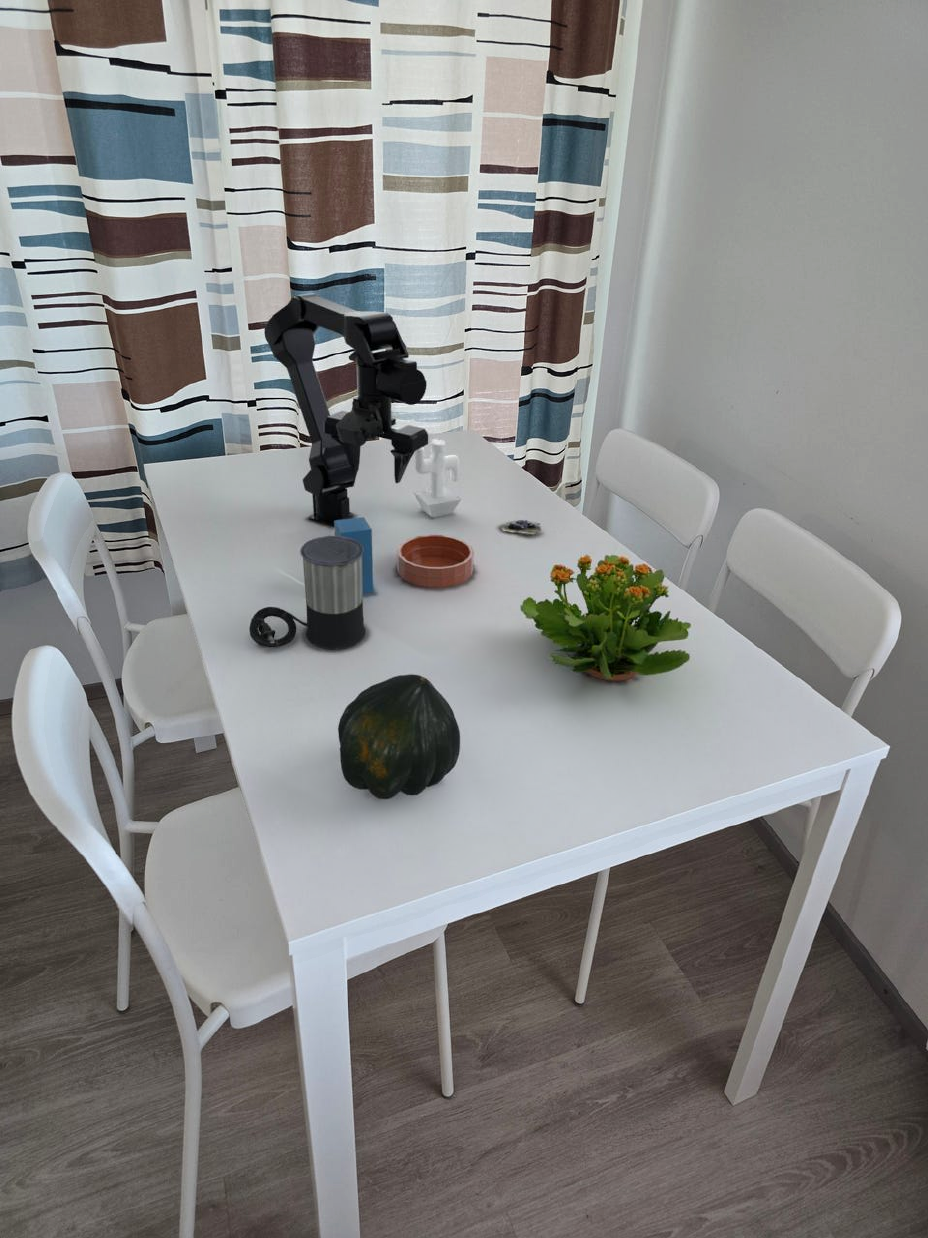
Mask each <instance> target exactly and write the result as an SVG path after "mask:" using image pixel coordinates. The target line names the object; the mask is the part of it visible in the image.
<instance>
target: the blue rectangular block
mask: <svg viewBox="0 0 928 1238" xmlns="http://www.w3.org/2000/svg"><path fill="white" fill-rule="evenodd" d="M334 524H335V526H334V536H342V537H346V538H351V539H353V540H355V541H357V542H359V543H360V544H361V545H362V547H363V548H364V552H363V554H362V586H363V595H368V594H369V595H370V594H374V570H373V569H374V567H373V566H374V565H373V530H372V527H371V526H370V524H369V523H368V521H367V519H366V518H365V517H364V516H362V517H353V518H352V517H351V518H348V519H343V520H335V521H334Z"/></svg>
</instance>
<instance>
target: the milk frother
mask: <svg viewBox="0 0 928 1238" xmlns="http://www.w3.org/2000/svg"><path fill="white" fill-rule="evenodd" d="M363 552H364V548H363V547H362V545H361V544H360V543H359V542H357V541H355V540H353V539H351V538H346V537H342V536H335V535H326V536H320V537H316V538H313V539H310V540H308V541H306V542H305V543H304V544H302V546H301V547H300V550H299V553H300V556H301V557H302V564H303V565H302V567H303V578H304V579H303V580H304V592H305V605H306V606H305V607H306V622H305V621H303V620H301V619H299V618H297V617H296V616H295V615H293V613H290V612H289V611H286V610H285V609H283V608H280V607H275V606H266V607H263V608H260V609H259V610H258V611H257V612H255V614H254V615H253V616H252V618H250V619H251V620H250V622H249V627H248V628H249V629H248V630H249V635H250V637H251V639H252V640H253V642H255V643H256V644H258V645H259V646H261V647H264V648H270V649H271V648H281V647H284V646H286V645H288V644H290V643H291V642H292V641H293V640H294V638H295V637H296V633H297V625H296V622H298V623H299V624H301V626H304V627H306V630H305V637H306V639H307V641H308V642H309V643H310V644H312V645H314V646H316V647H318V648H321V649H326V650H341V649H342V650H343V649H347V648H350V647H354V646H356V645H357V644H359V643H360V642H361V641H363V640H364V638H365V637H366V633H367V630H366V627H365V624H364V621H365V620H364V619H365V618H364V611H363V610H364V605H363V604H364V599H363V596H364V594H363V586H362V554H363ZM268 617H274V618H278V619H281V620H283V621H284V622H285V623H286V624H287V632H286V633H285V635H284V636H283V637H281V638H277V639H275V637H276V630H275V629H272V628H271V626H270V625H269V623H267V622H266V621H265V620H266V619H267V618H268ZM295 621H296V622H295Z"/></svg>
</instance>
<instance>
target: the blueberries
mask: <svg viewBox="0 0 928 1238" xmlns="http://www.w3.org/2000/svg"><path fill="white" fill-rule="evenodd" d="M500 530H501V531H503V532H508V533H519V534H524V535H526V536H534V535H536V534H539V532H541V531H542V527H541V523H538V522H534V521H531V520H526V519H525V520H524V519H520V520H516V521H513V522H510V523H507V524H504V525H501V527H500Z"/></svg>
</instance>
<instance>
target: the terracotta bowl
mask: <svg viewBox="0 0 928 1238" xmlns="http://www.w3.org/2000/svg"><path fill="white" fill-rule="evenodd" d="M474 553H475V552H474V550H473V547H472V545H470V543H468V542H467V541H465V540H463V539H460V538H458V537H455V536H450V535H444V534H425V535H418V536H414V537H412V538H408V539H406V540H404V541H403V542H401V543H400V544H399V546H398V548H397V550H396V560H397V561H396V565H397V566H396V567H397V568H396V569H397V573H398V575H399V576H400V577H401V578H402V579H403V580H404V581H405V582H408V583H410V584H412V585H414V586H418V587H424V588H434V589H442V588H449V587H454V586H458V585H460V584H463V583H465V582H466V581H467V580H468V579H470V578H471V577H472V575H473V572H474V558H475V556H474V555H475V554H474Z"/></svg>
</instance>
